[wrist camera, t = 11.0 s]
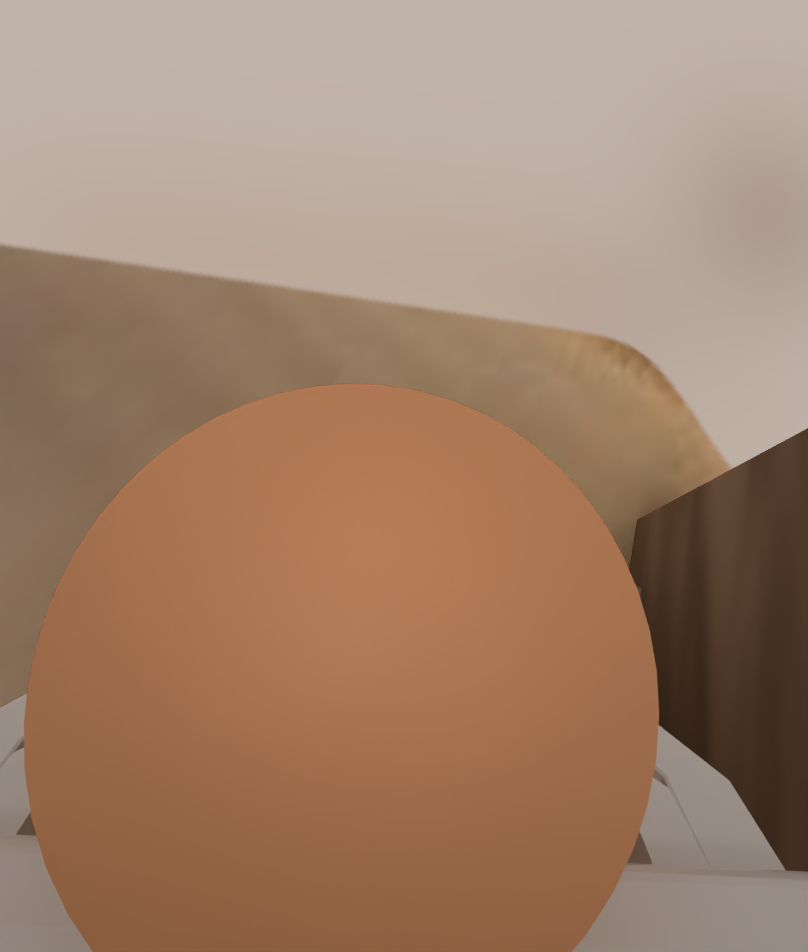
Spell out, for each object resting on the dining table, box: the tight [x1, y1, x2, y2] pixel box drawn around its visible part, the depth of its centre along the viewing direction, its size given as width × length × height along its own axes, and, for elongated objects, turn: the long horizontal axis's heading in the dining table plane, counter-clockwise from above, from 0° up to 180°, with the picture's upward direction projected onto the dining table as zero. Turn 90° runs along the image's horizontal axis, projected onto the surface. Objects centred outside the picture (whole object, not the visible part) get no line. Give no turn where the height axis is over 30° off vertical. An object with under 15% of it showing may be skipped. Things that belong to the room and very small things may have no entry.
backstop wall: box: [630, 429, 808, 872], centre depth 12 cm, size 15×18×12 cm
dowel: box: [24, 384, 659, 952], centre depth 10 cm, size 4×4×14 cm
